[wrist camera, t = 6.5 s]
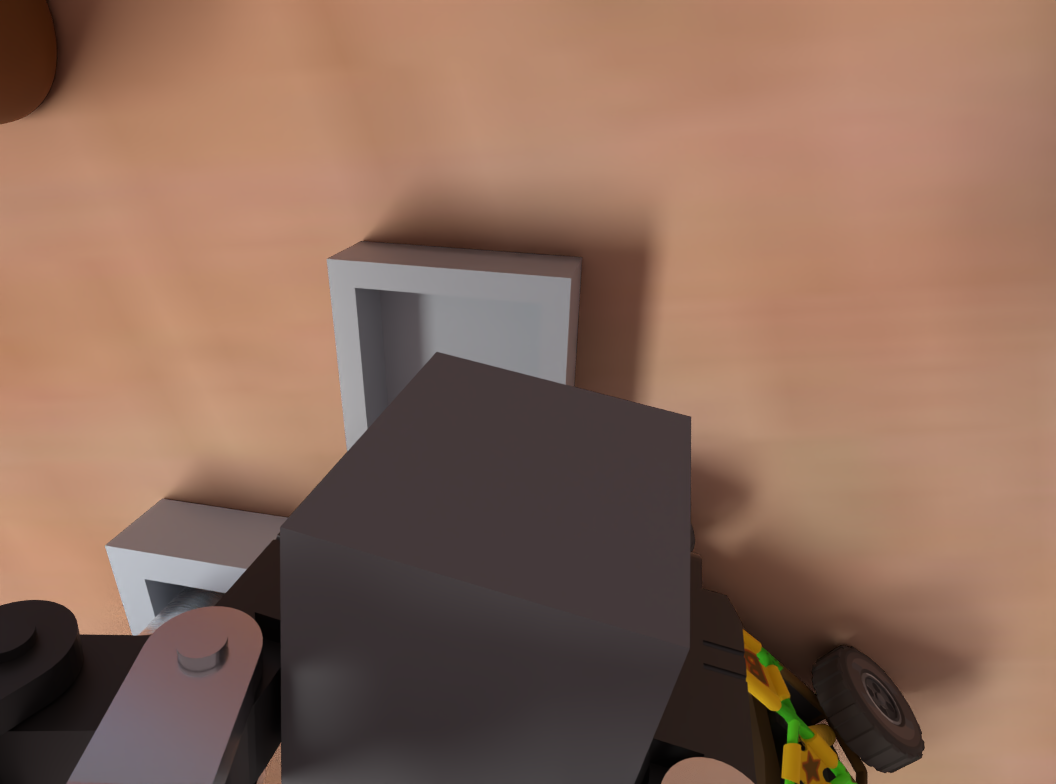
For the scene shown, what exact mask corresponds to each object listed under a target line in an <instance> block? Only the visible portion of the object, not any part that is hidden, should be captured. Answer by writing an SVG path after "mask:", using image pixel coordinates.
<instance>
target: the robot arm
mask: <svg viewBox="0 0 1056 784" xmlns="http://www.w3.org/2000/svg"><path fill="white" fill-rule="evenodd" d="M744 653H745V649H744V638H743V627H742V622H741V621H740V619H739V617H738V615H737V613H736V611H735V610H734V608H733V606H732V604H731V602H730V600H729V599H728V597H727V596H726V595H723V594H719V593H716V592H712V591H709V590H705V589H702V560H701V556H700V555H699V554H696V553H692V552H690V649H689V652H688V654H687V656H686V659H685V661H684V664H683V666H682V669H681V671H680V674H679V676H678V678H677V681H676V683H675V686H674V688H673V691H672V693H671V696H670V698H669V700H668V703H667V705H666V708H665V710H664V713H663V715H662V718H661V720H660V722H659V725H658V727H657V730H656V732H655V735H654V737H653V740H652V742H651V744H650V747H649V749H648V752H647V754H646V757H645V759H644V762H643V764H642V766H641V769H640V771H639V774H638V776H637V779H636V781H635V784H757V780H756V774H755V763H754V752H753V740H752V729H751V717H750V706H749V695H748V683H747V682H746V677H747V672H746V661H745V658H744ZM280 743H281V610H280V532H279V533H278V535H277V538H276V540H274V539H273V540H272V541H271V543H270V544H269V545H268V546H267V547H266V548H265V549H264V550H263V552H262V553H261V554H260V555H259V556H258V557H257V558H256V559H255V561H254V562H253V563H252V564H251V565H250V566H249V567H248V568H247V570H246V571H245V572H244V573H243V574H242V575H241V576H240V578H239V579H238V580H237V581H236V582H235V583H234V584H233V585H232V587H231V588H230V589H229V590H228V591H227V592H226V593H225V594H224V596H223V597H222V598H221V599H220V600H219V601H218V602H217V603H216V604H215V605H214V606H211V607H202V608H197V609H193V610H190V611H187V612H184V613H182V614H179V615H177V616H175V617H173V618H171V619H170V620H168V621H167V622H165V623H164V624H162V625H161V626H160V627H159V628H157V629H156V630H155V631H154V632H153V633H152V634H151V635H80V634H79V629H78V624H77V620H76V618H75V616H74V614H73V613H72V612H71V611H70V610H69V609H67V608H66V607H64V606H63V605H60V604H58V603H55V602H50V601H44V600H26V601H19V602H12V603H9V604H5V605H1V606H0V784H264V780H265V772H266V766H267V764H268V763H269V761H270V759H271V758H272V756H273V755H274V753H275V751H276V750H277V748H278V746H279V745H280Z"/></svg>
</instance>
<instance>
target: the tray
mask: <svg viewBox="0 0 1056 784" xmlns="http://www.w3.org/2000/svg"><path fill="white" fill-rule="evenodd" d="M327 266H328V275H329V285H330V294H331V304H332V313H333V322H334V332H335V341H336V351H337V360H338V370H339V379H340V389H341V398H342V408H343V417H344V426H345V436H346V445H347V451H348V450H349V449H350V448H351V447H352V446H353V445H354V444H355V443H356V441H357V440H358V439H359V438H360V437H361V436H362V435H363V434H364V432H365V431H366V430H367V429H368V428H369V427H370V426H371V425H372V423H373V422H374V421H375V420H376V419H377V418H378V417H379V416H380V415H381V413H382V412H383V411H384V410H385V409H386V408H387V407H388V406H389V404H390V403H391V402H392V401H393V400H394V399H395V398H396V397H397V395H398V394H399V393H400V392H401V391H402V390H403V389H404V388H405V387H406V385H407V384H408V383H409V382H410V381H411V380H412V379H413V378H414V376H415V375H416V374H417V373H418V372H419V371H420V370H421V369H422V367H423V366H424V365H425V364H426V363H427V362H428V361H429V360H430V359H431V357H432V356H433V355H434V354H435V353H436V352H440V353H444V354H448V355H452V356H456V357H460V358H463V359H467V360H471V361H475V362H479V363H483V364H487V365H491V366H495V367H499V368H503V369H506V370H510V371H514V372H518V373H522V374H526V375H530V376H534V377H538V378H542V379H546V380H549V381H553V382H557V383H561V384H565V385H569V386H573V387H574V386H575V369H576V353H577V336H578V320H579V303H580V286H581V270H582V257H571V256H557V255H544V254H530V253H517V252H503V251H490V250H476V249H462V248H449V247H435V246H422V245H408V244H394V243H381V242H367V241H360V242H358V243H357V244H355V245H353V246H351V247H349V248H347V249H345V250H343V251H341V252H339V253H337V254H335V255H333V256H331V257H329V258H328V259H327Z"/></svg>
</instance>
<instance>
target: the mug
mask: <svg viewBox="0 0 1056 784" xmlns="http://www.w3.org/2000/svg"><path fill="white" fill-rule="evenodd" d="M56 63H57V44H56V34H55V29H54V25H53V20H52V17H51V14H50V10H49V7H48V5H47V2H46V0H0V124H4V123H8V122H12V121H15V120H18V119H21V118H23V117H25V116H27V115H28V114H30V113H31V112H33V111H34V110H35V109H36V108H37V107H38V106H39V105H40V104H41V103H42V101H43V100H44V99H45V97H46V95H47V94H48V92H49V90H50V88H51V85H52V83H53V79H54V76H55V72H56Z"/></svg>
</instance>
